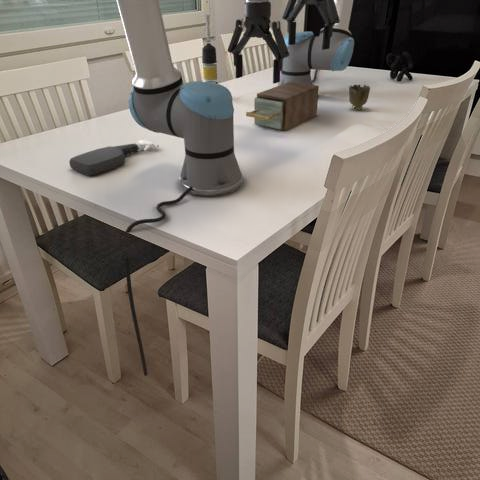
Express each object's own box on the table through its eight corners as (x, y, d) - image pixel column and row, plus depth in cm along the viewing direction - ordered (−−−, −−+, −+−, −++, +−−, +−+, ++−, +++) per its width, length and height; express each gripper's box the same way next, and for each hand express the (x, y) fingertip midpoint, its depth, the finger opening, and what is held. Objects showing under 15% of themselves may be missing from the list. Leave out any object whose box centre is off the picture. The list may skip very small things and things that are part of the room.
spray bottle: (67, 168, 120) (139, 144, 136) (91, 178, 114) (163, 151, 130) (65, 157, 118) (137, 134, 134) (89, 167, 112) (162, 142, 128)
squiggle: (400, 92, 202) (376, 71, 205) (417, 76, 202) (392, 56, 205) (405, 81, 191) (380, 59, 194) (423, 64, 191) (397, 42, 194)
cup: (344, 110, 161) (346, 87, 157) (349, 105, 167) (352, 83, 162) (364, 113, 158) (367, 90, 154) (369, 107, 164) (372, 85, 159)
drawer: (269, 134, 138) (270, 107, 134) (243, 128, 144) (243, 102, 139) (310, 114, 155) (312, 90, 150) (286, 110, 160) (286, 86, 156)
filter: (220, 99, 177) (217, 15, 161) (206, 100, 176) (202, 16, 160) (215, 96, 182) (212, 14, 166) (202, 97, 180) (197, 14, 164)
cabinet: (285, 131, 144) (286, 98, 138) (256, 124, 150) (256, 93, 144) (316, 115, 157) (318, 85, 152) (289, 110, 163) (290, 81, 158)
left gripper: (303, 1, 121) (299, 82, 132) (229, -1, 133) (231, 73, 145) (289, 3, 116) (286, 87, 127) (214, 0, 128) (217, 77, 140)
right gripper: (356, -33, 124) (348, 49, 135) (288, -33, 139) (286, 41, 151) (340, -32, 120) (333, 53, 131) (272, -32, 135) (271, 44, 146)
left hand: (257, 80), depth 136 cm, fingers open, 13 cm apart
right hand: (308, 46), depth 141 cm, fingers open, 13 cm apart
